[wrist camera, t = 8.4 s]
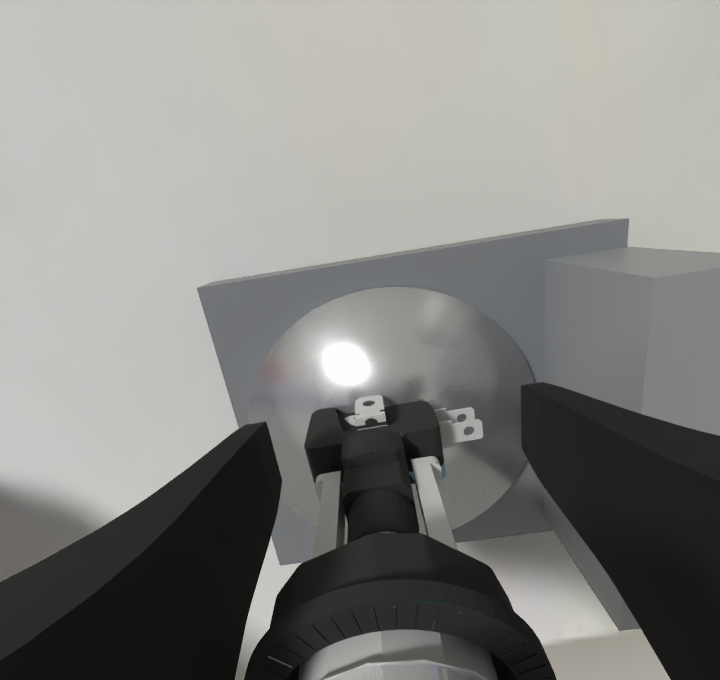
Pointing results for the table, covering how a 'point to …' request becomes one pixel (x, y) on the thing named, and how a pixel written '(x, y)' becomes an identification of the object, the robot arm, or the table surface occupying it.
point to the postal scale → (473, 360)
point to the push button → (391, 564)
